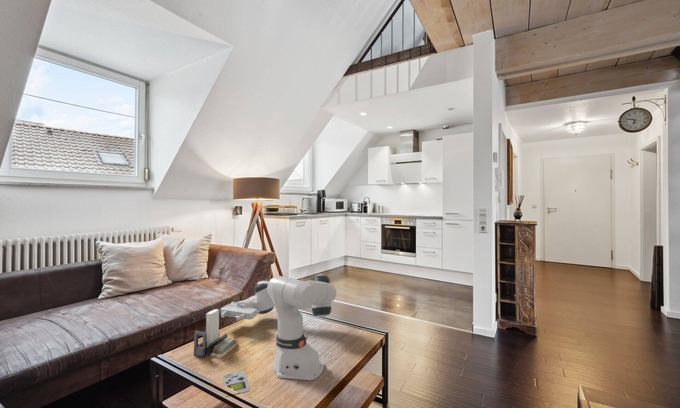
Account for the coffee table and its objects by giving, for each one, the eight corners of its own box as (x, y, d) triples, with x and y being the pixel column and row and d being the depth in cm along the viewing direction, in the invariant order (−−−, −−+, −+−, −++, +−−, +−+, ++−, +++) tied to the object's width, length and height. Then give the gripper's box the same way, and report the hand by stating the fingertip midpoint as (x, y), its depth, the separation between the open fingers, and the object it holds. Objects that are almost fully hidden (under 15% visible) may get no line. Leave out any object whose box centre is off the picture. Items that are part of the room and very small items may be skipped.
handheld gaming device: (244, 369, 130) (249, 389, 116) (244, 371, 130) (249, 391, 116) (222, 374, 126) (225, 395, 113) (222, 376, 126) (225, 397, 113)
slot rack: (227, 341, 155) (227, 320, 155) (204, 357, 139) (205, 333, 139) (217, 339, 157) (217, 318, 156) (193, 355, 141) (194, 331, 141)
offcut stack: (237, 345, 152) (238, 336, 152) (219, 359, 139) (220, 349, 139) (229, 343, 154) (229, 334, 154) (210, 357, 140) (210, 347, 140)
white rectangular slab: (218, 345, 151) (219, 309, 151) (210, 351, 145) (210, 314, 145) (214, 344, 152) (214, 309, 151) (205, 350, 146) (206, 313, 146)
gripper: (260, 316, 171) (246, 326, 158) (230, 311, 177) (213, 320, 164) (260, 305, 171) (246, 314, 158) (230, 301, 177) (214, 309, 164)
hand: (229, 317), depth 161 cm, fingers open, 8 cm apart
